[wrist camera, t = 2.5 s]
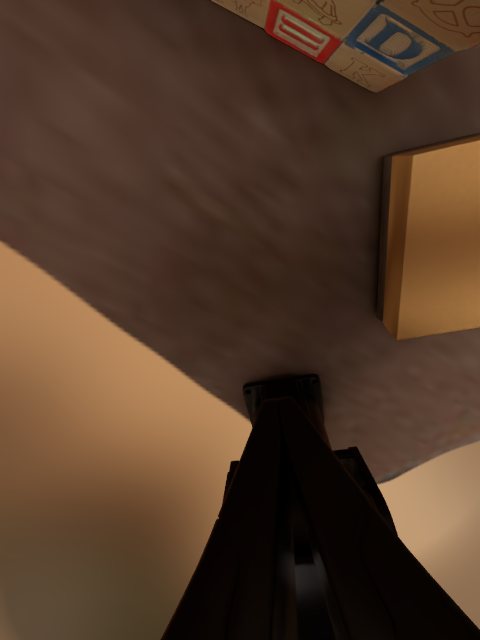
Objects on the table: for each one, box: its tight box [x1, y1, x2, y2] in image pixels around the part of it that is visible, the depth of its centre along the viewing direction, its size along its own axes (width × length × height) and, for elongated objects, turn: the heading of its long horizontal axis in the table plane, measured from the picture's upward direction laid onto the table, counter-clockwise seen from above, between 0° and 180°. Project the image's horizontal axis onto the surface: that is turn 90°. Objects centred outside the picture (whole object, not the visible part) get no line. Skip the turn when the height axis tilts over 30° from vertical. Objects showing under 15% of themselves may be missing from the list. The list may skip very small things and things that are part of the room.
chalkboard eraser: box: [377, 133, 480, 340], centre depth 16 cm, size 10×5×4 cm, turn 12°
